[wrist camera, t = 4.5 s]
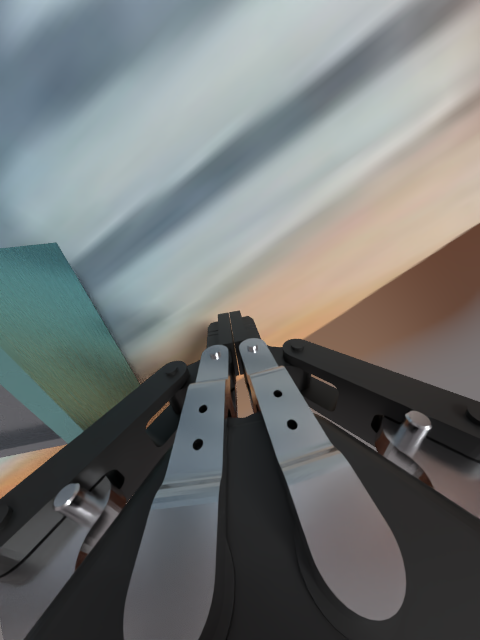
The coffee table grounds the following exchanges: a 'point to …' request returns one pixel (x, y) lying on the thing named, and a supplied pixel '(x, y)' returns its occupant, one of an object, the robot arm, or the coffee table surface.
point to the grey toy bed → (52, 353)
